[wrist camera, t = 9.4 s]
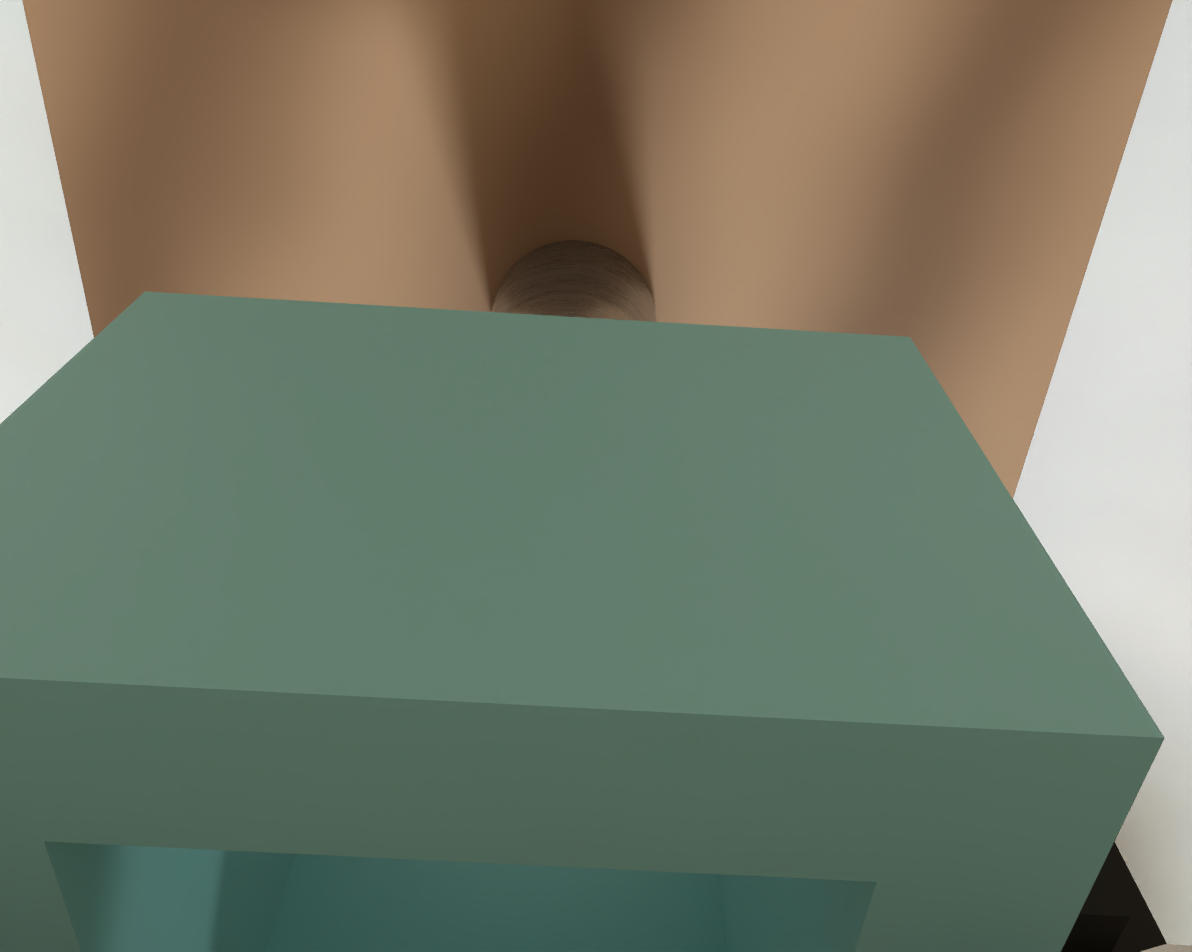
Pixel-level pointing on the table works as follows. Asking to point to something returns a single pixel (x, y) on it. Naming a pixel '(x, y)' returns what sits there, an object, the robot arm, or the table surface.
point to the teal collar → (533, 646)
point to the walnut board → (615, 159)
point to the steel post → (576, 284)
